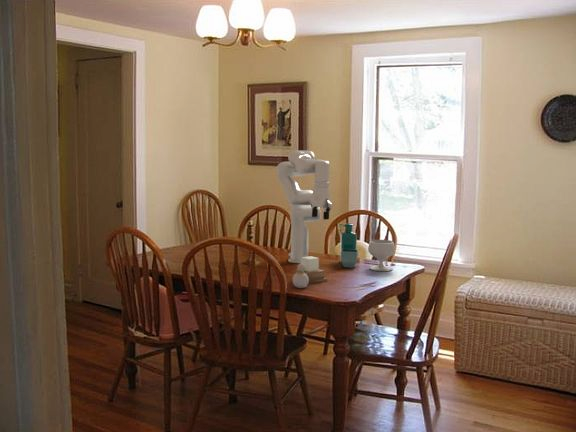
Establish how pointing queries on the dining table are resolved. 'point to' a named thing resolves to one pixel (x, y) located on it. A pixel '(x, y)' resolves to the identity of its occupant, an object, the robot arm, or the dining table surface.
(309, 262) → the cream block
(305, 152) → the robot arm
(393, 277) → the dining table surface
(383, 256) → the chalice
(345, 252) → the flower pot
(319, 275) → the walnut pedestal
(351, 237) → the pitcher
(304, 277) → the perfume bottle
